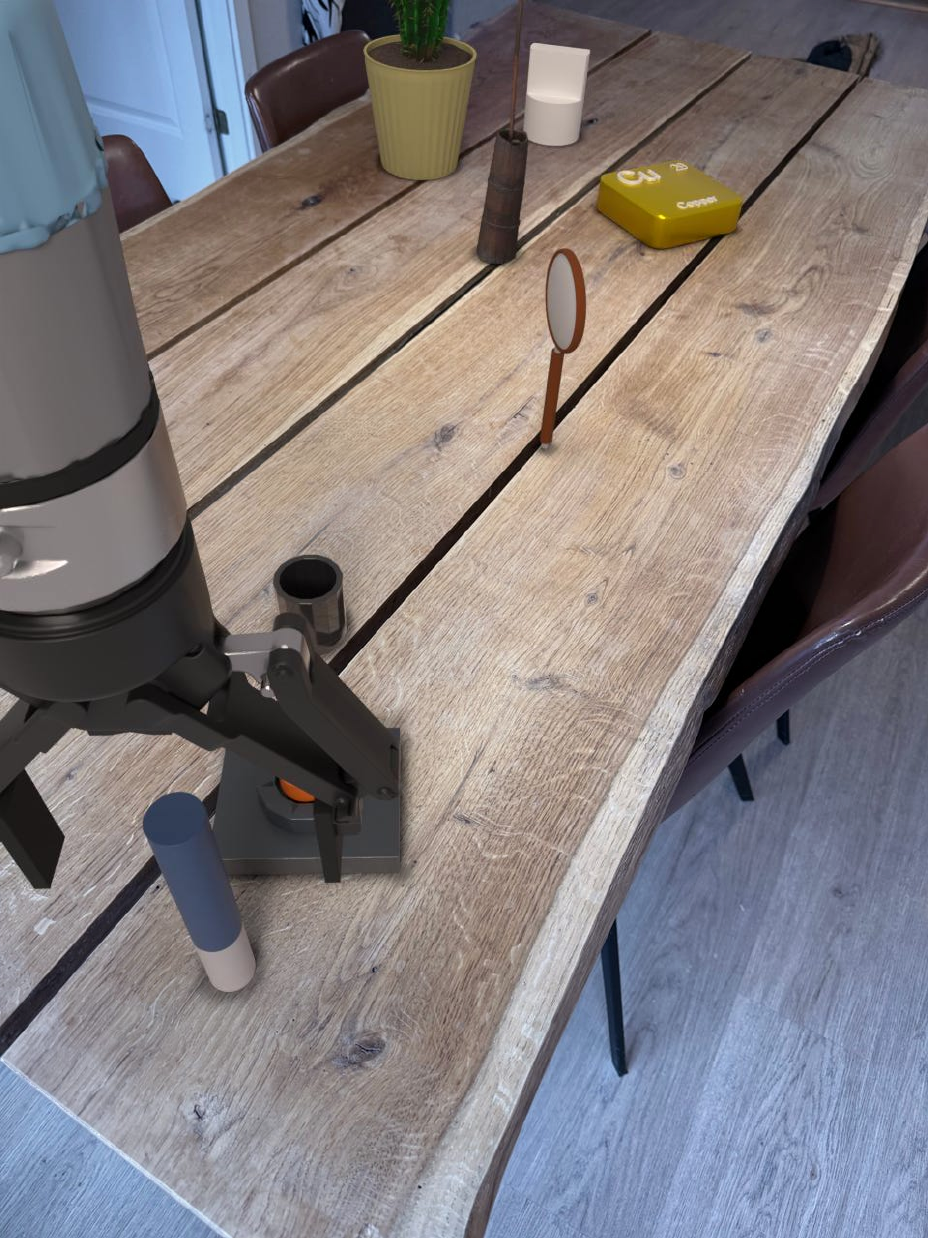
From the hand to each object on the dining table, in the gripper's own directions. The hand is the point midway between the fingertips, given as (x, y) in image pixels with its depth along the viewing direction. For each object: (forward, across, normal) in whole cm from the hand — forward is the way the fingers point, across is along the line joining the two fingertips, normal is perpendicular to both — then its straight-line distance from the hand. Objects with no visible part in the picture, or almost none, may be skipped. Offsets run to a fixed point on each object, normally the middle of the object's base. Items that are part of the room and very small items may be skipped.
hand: (193, 860), depth 44 cm
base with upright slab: (+14, +33, +132) cm, 137 cm away
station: (+14, +4, +11) cm, 18 cm away
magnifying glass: (+14, +24, +51) cm, 58 cm away
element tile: (+14, +46, +103) cm, 114 cm away
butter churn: (+14, +22, +90) cm, 94 cm away
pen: (+14, 0, 0) cm, 14 cm away
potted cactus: (+14, +12, +119) cm, 120 cm away
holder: (+14, +3, +27) cm, 31 cm away
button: (+10, +4, +11) cm, 16 cm away
